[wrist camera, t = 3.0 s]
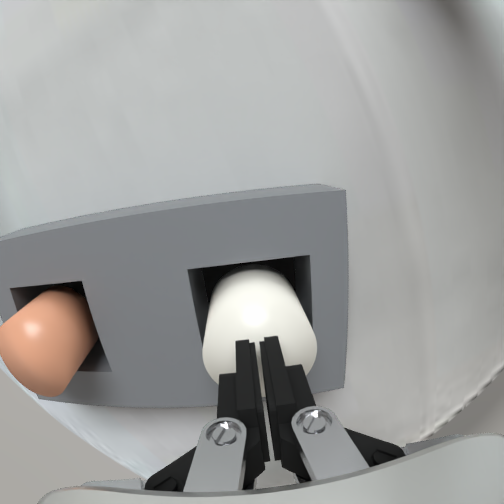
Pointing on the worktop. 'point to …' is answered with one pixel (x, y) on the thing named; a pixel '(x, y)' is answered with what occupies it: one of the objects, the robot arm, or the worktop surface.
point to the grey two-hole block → (181, 285)
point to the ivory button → (256, 320)
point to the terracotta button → (48, 340)
